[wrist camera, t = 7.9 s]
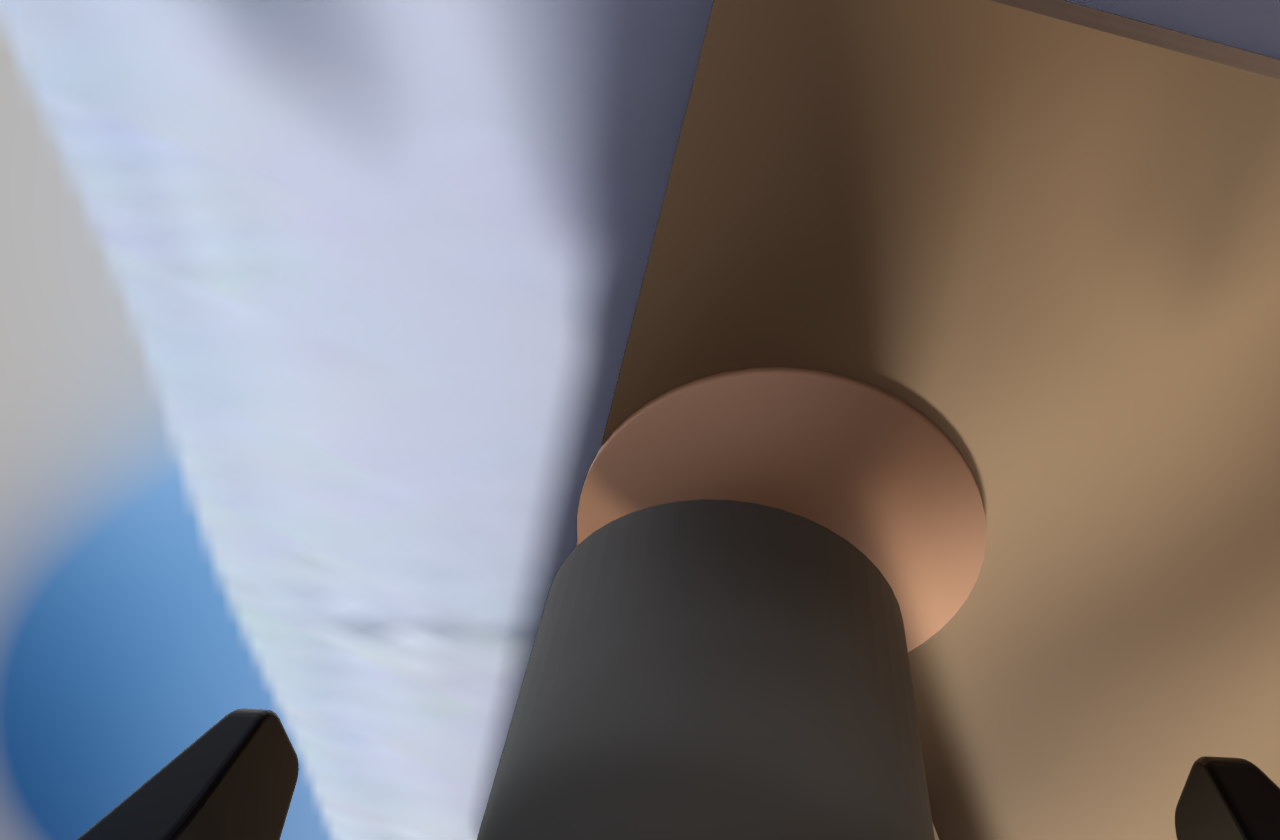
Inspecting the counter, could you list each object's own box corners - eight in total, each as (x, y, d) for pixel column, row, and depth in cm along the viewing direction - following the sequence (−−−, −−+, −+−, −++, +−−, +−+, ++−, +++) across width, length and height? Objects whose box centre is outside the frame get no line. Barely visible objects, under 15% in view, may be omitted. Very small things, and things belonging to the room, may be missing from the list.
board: (2107, 287, 10) (2327, 370, 8) (1121, 1041, 21) (1145, 1129, 20) (728, -91, 9) (719, -71, 8) (486, 884, 21) (465, 961, 19)
